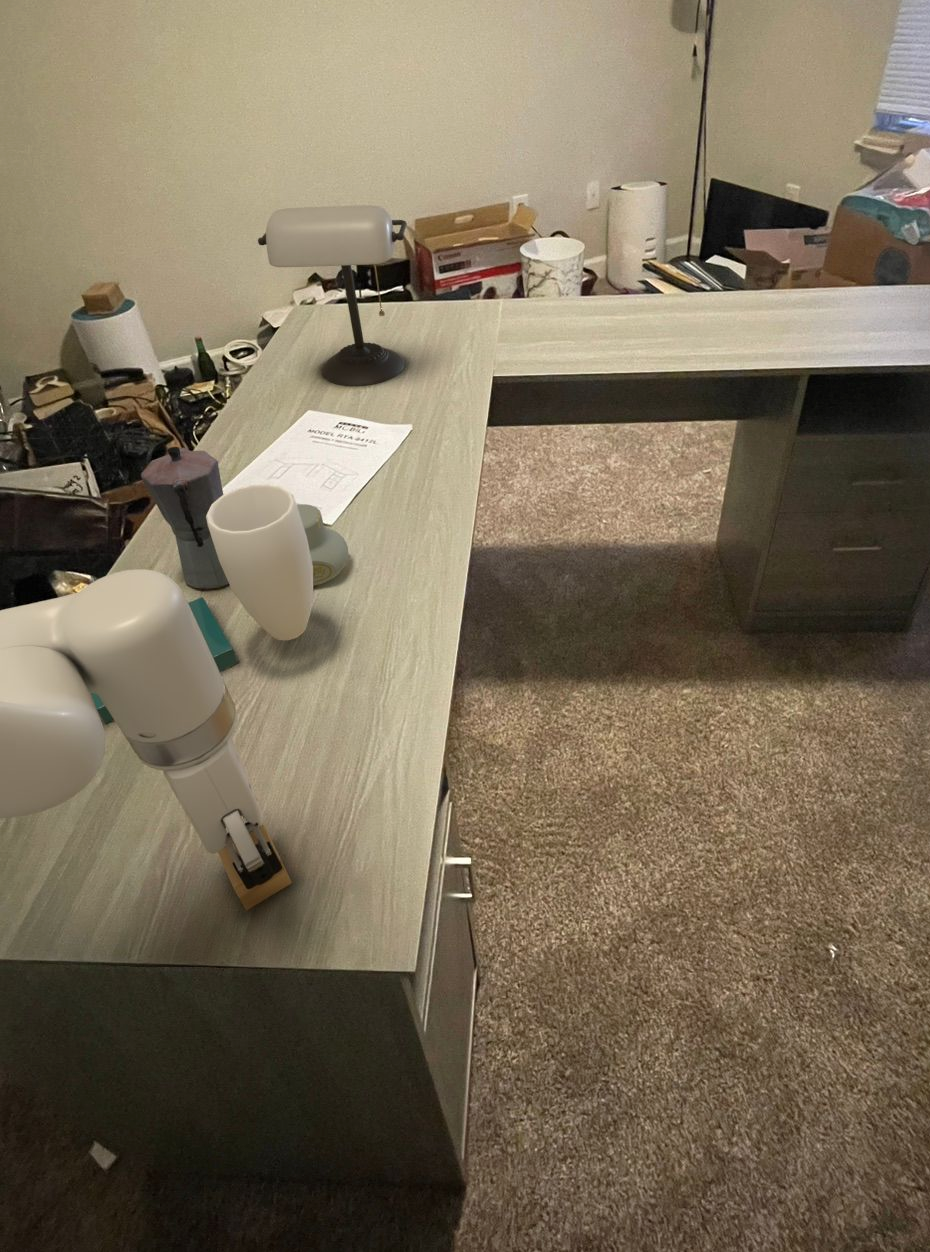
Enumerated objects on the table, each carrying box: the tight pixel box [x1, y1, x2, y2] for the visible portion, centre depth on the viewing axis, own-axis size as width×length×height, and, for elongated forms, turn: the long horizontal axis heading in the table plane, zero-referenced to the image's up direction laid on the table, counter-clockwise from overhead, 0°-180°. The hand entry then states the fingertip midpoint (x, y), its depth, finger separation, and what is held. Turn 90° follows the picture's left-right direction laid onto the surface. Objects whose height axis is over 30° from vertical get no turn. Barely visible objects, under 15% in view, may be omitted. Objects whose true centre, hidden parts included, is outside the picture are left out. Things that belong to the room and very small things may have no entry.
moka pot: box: [140, 446, 230, 590], centre depth 100 cm, size 10×15×20 cm, turn 26°
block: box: [217, 824, 292, 911], centre depth 69 cm, size 4×4×4 cm
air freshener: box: [297, 503, 349, 587], centre depth 103 cm, size 11×8×10 cm
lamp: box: [257, 204, 408, 387], centre depth 145 cm, size 26×24×34 cm
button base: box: [90, 596, 239, 725], centre depth 92 cm, size 16×12×4 cm
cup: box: [206, 483, 314, 641], centre depth 88 cm, size 10×10×22 cm
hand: (244, 835), depth 66 cm, fingers open, 9 cm apart
